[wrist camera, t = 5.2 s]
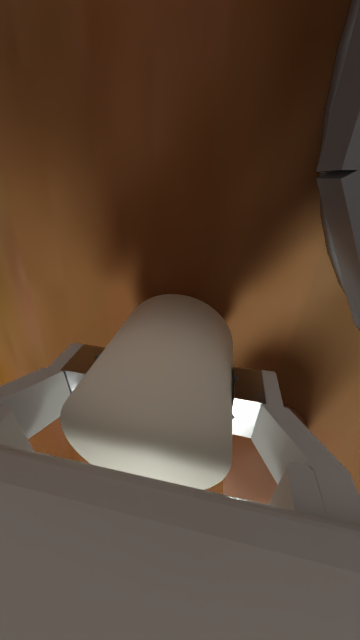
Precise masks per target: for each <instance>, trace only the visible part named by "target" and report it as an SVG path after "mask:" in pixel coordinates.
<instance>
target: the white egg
mask: <svg viewBox="0 0 360 640" xmlns="http://www.w3.org/2000/svg"><path fill="white" fill-rule="evenodd" d="M232 370H233V342H232V336H231V332H230V330H229V327H228V325H227V324H226V322H225V320H224V319H223V318H222V316H221V315H220V314H219V313H218V312H217V311H216V310H215V309H213V308H212V307H211V306H209V305H208V304H206V303H204V302H203V301H201V300H198V299H196V298H193V297H190V296H186V295H180V294H163V295H158V296H154V297H152V298H149V299H147V300H145V301H143V302H142V303H141V304H139V305H138V306H137V307H136V308H135V309H134V310H133V312H132V313H131V314H130V316H129V317H128V318H127V320H126V321H125V322H124V324H123V325H122V326H121V328H120V329H119V330H118V332H117V333H116V334H115V336H114V337H113V338H112V340H111V341H110V342H109V344H108V345H107V346H106V348H105V349H104V350H103V352H102V353H101V354H100V356H99V357H98V358H97V360H96V361H95V362H94V364H93V365H92V366H91V368H90V369H89V370H88V372H87V373H86V374H85V376H84V377H83V378H82V380H81V381H80V382H79V384H78V385H77V386H76V388H75V389H74V390H73V392H72V393H71V394H70V396H69V397H68V398H67V400H66V401H65V403H64V404H63V406H62V409H61V414H60V421H61V426H62V430H63V432H64V434H65V436H66V438H67V440H68V441H69V443H70V444H71V445H72V447H73V448H74V449H75V450H76V451H77V452H78V453H79V454H80V455H81V456H82V457H83V458H84V459H86V460H87V461H88V462H89V463H91V464H92V465H96V466H101V467H105V468H109V469H114V470H118V471H123V472H127V473H132V474H136V475H140V476H145V477H149V478H154V479H158V480H162V481H167V482H171V483H175V484H180V485H184V486H189V487H193V488H197V489H202V490H204V489H207V488H210V487H212V486H214V485H216V484H217V483H219V482H221V481H222V480H223V479H224V478H225V477H226V475H227V474H228V472H229V470H230V468H231V464H232V386H233V384H232Z"/></svg>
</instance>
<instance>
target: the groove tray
mask: <svg viewBox="0 0 360 640" xmlns="http://www.w3.org/2000/svg"><path fill="white" fill-rule="evenodd" d="M316 172H319V177H318V178H316V181H317V185H318V189H319V193H320V210H321V220H322V226H323V231H324V236H325V241H326V247H327V252H328V255H329V258H330V260H331V263H332V266H333V268H334V271H335V274H336V277H337V279H338V282H339V284H340V286H341V288H342V289H343V291H344V293H345V294H346V296H347V299H348V303H349V307H350V310H351V314H352V318H353V322H354V324H355V325H356V327H357V328H358V329H359V330H360V0H352V1H351V5H350V8H349V12H348V15H347V18H346V22H345V25H344V29H343V32H342V35H341V39H340V42H339V46H338V49H337V53H336V58H335V63H334V68H333V73H332V78H331V83H330V89H329V94H328V99H327V104H326V109H325V114H324V120H323V131H322V143H321V154H320V158H319V162H318V166H317V170H316Z"/></svg>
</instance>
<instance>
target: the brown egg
mask: <svg viewBox="0 0 360 640" xmlns="http://www.w3.org/2000/svg"><path fill="white" fill-rule="evenodd" d="M283 406H284V407H285V408H289V409H290V410H291V411H292V412H293V414H294V415H295V416H296V417H297V418H298V419H299V420H300V421H301V422H302V423H303V424H304V425H305V426H306V423H305V421H304V419H303V417H302V416H301V415H300V414H299V413H298V412H297V411H295V410H294V409H292V408H290V407H288V406H286V405H283ZM277 486H278V485H277V483H276V481H275V479H274V478H273V476H272V474H271V473H270V471H269V469H268V467H267V466H266V464H265V462H264V461H263V459H262V457H261V455H260V454H259V452H258V450H257V449H256V447H255V445H254V443H253V442H252V440H251V438H248V437H243V436H239V435H234V434H232V464H231V468H230V470H229V472H228V474H227V475H226V477H225V478H224V489H223V494H224V495H228V496H233V497H237V498H241V499H246V500H250V501H255V502H259V503H263V504H269V502H270V500H271V498H272V496H273V494H274V492H275V490H276V488H277Z"/></svg>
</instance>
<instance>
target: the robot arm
mask: <svg viewBox="0 0 360 640" xmlns="http://www.w3.org/2000/svg"><path fill="white" fill-rule="evenodd" d="M104 349H105V348H104V347H98V346H92V345H87V344H79V343H73V344H71V345H70V346H69V347H68V348H67V349H66V350H65V351H64V352H63V353H62V354H61V355H60V356H59V357H58V358H57V359H56V360H55V361H54V362H53V363H52V364H51V365H50V366H49V367H48V368H42V369H39V370H37V371H35V372H32V373H30V374H28V375H26V376H23V377H21V378H19V379H16V380H14V381H12V382H9V383H7V384H5V385H2V386H0V640H360V497H359V495H358V492H357V490H356V487H355V485H354V482H353V479H352V477H351V474H350V472H349V471H348V470H347V469H346V468H345V467H344V466H343V465H342V464H341V463H340V462H339V461H338V460H337V459H336V458H335V457H334V456H333V454H332V453H331V452H330V451H329V450H328V449H327V448H326V447H325V446H324V445H323V444H322V443H321V442H320V441H319V440H318V439H317V438H316V437H315V436H314V435H313V433H312V432H311V431H310V430H309V429H308V428H307V427H306V426H305V425H304V424H303V423H302V422H301V421H300V420H299V419H298V418H297V417H296V416H295V415H294V414H293V412H292V411H291V410H290V409H289V408H285V407H284V406H283V401H282V397H281V392H280V388H279V384H278V379H277V375H276V373H275V372H274V371H266V370H257V369H249V368H242V367H235V366H233V370H232V384H233V386H232V434H234V435H239V436H243V437H248V438H251V440H252V442H253V443H254V445H255V447H256V449H257V450H258V452H259V454H260V455H261V457H262V459H263V461H264V462H265V464H266V466H267V467H268V469H269V471H270V473H271V474H272V476H273V478H274V479H275V481H276V483H277V485H278V486H277V488H276V490H275V492H274V494H273V496H272V498H271V500H270V502H269V504H263V503H259V502H255V501H250V500H246V499H241V498H237V497H233V496H228V495H224V494H219V493H215V492H211V491H206V490H202V489H197V488H193V487H189V486H184V485H180V484H175V483H171V482H167V481H162V480H158V479H154V478H149V477H145V476H140V475H136V474H132V473H127V472H123V471H118V470H114V469H109V468H105V467H101V466H96V465H92V464H87V463H83V462H79V461H74V460H70V459H65V458H61V457H56V456H52V455H48V454H43V453H39V452H34V451H33V448H32V446H31V444H30V442H29V440H28V439H29V438H30V437H32V436H33V435H35V434H36V433H37V432H39V431H40V430H42V429H43V428H44V427H46V426H47V425H49V424H50V423H51V422H53V421H54V420H56V419H57V418H58V417H60V414H61V409H62V406H63V404H64V403H65V401H66V400H67V398H68V397H69V396H70V394H71V393H72V392H73V390H74V389H75V388H76V386H77V385H78V384H79V382H80V381H81V380H82V378H83V377H84V376H85V374H86V373H87V372H88V370H89V369H90V368H91V366H92V365H93V364H94V362H95V361H96V360H97V358H98V357H99V356H100V354H101V353H102V352H103V350H104Z"/></svg>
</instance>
